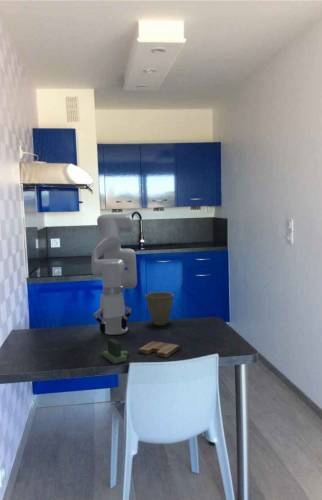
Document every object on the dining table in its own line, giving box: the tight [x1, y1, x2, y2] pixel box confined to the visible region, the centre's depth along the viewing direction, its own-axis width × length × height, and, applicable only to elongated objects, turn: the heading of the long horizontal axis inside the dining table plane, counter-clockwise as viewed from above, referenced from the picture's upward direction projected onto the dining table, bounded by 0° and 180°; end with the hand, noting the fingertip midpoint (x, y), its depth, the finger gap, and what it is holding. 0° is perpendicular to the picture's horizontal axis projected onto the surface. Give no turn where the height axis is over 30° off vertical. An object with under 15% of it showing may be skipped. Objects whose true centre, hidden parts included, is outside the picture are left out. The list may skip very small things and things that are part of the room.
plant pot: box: [145, 291, 174, 326], centre depth 242 cm, size 15×15×16 cm
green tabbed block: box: [101, 337, 130, 364], centre depth 193 cm, size 12×9×8 cm
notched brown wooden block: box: [138, 340, 180, 358], centre depth 200 cm, size 14×12×2 cm
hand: (113, 330), depth 191 cm, fingers open, 9 cm apart
